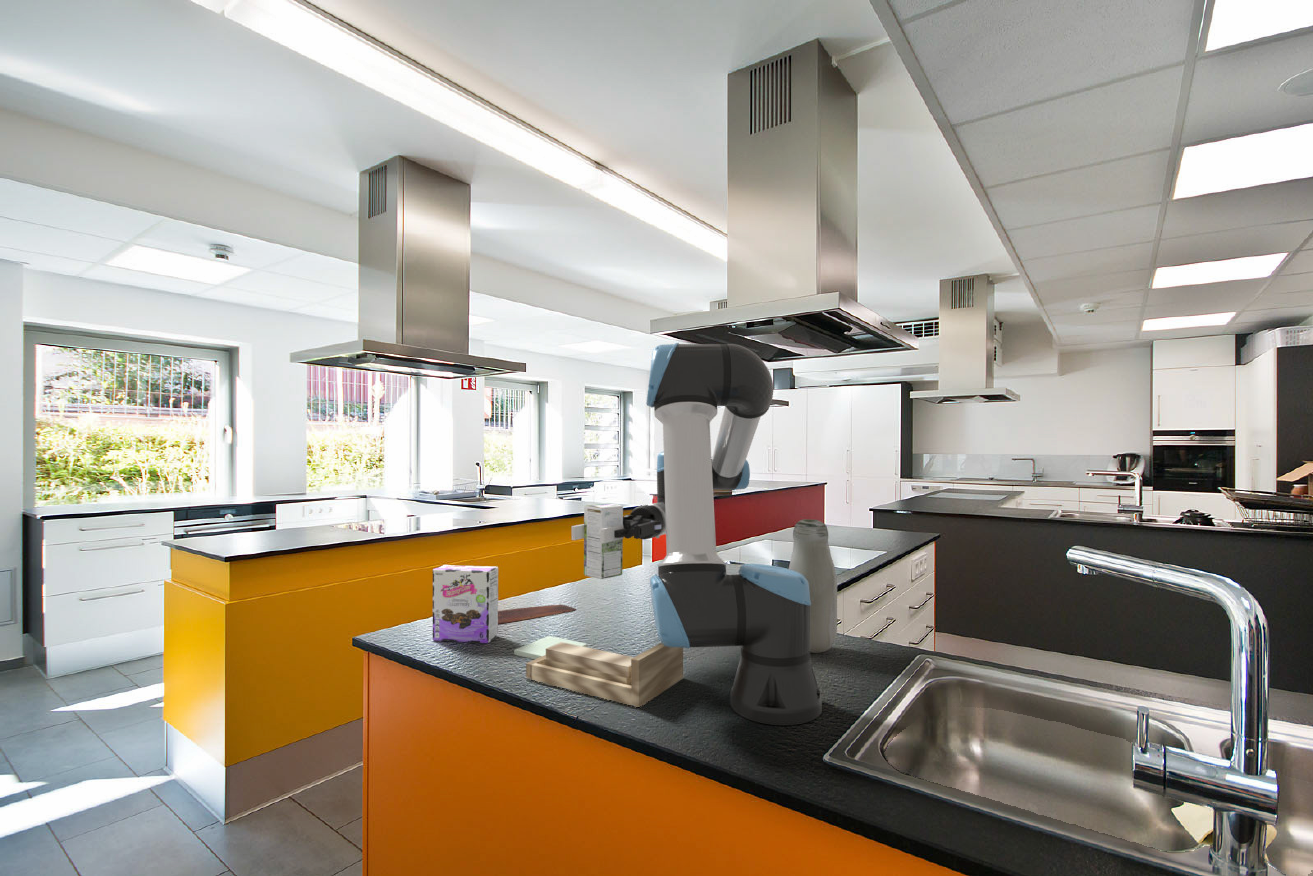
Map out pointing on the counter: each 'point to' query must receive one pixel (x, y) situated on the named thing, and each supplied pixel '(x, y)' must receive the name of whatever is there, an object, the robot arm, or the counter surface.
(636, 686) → the birch rack
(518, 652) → the sage mat
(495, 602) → the candy box
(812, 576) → the glass bottle
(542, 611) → the wooden tablet
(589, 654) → the offcut stack
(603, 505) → the syrup box
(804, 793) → the counter surface
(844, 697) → the counter surface
